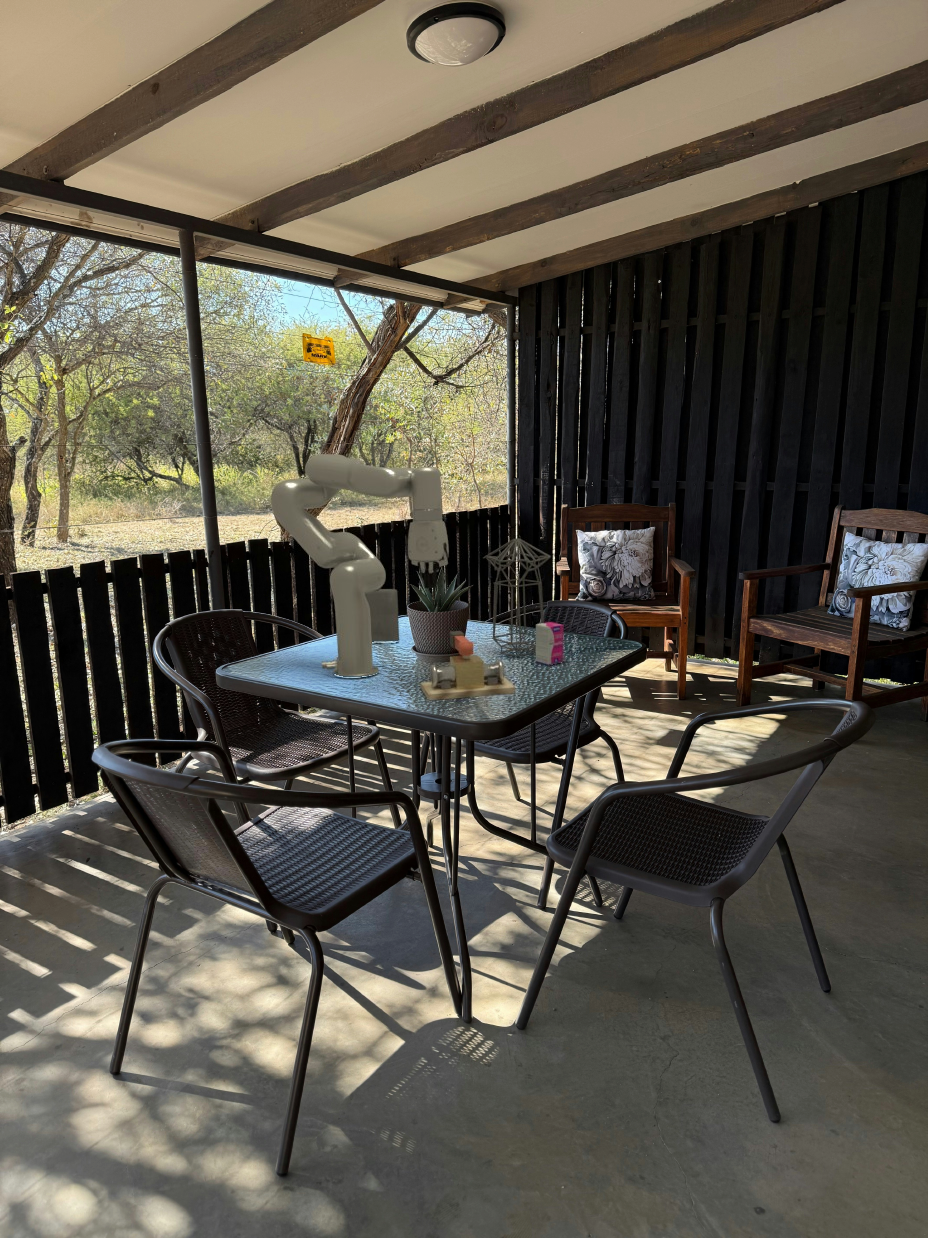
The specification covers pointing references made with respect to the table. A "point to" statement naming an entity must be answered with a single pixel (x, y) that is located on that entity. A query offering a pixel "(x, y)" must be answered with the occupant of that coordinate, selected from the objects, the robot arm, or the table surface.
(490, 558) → the geometric lantern
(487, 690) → the mounting board
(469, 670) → the pipe valve
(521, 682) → the table surface
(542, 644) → the supplement box
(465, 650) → the valve lever
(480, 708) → the table surface
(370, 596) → the flask
